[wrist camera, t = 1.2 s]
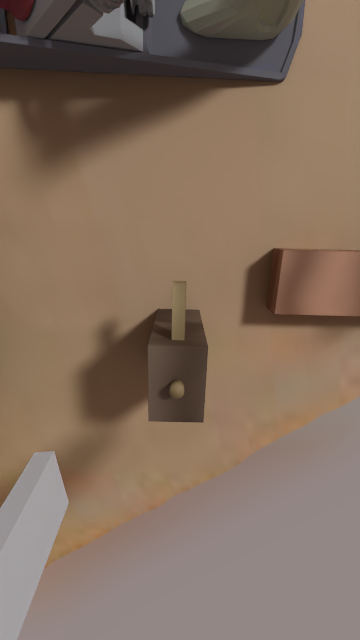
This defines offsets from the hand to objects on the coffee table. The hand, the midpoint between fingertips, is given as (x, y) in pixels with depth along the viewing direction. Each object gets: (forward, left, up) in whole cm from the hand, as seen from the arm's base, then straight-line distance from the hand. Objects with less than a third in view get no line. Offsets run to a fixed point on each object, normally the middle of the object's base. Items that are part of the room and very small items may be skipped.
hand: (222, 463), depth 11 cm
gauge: (-2, +1, -17) cm, 17 cm away
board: (+14, +5, -17) cm, 23 cm away
